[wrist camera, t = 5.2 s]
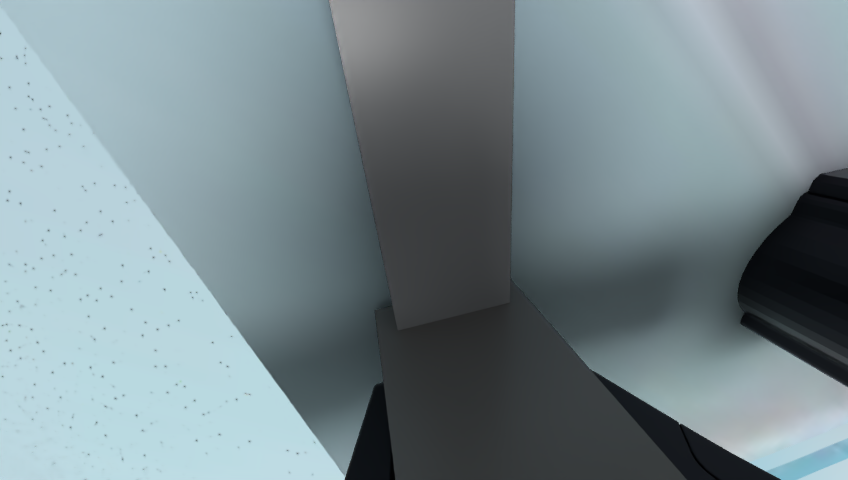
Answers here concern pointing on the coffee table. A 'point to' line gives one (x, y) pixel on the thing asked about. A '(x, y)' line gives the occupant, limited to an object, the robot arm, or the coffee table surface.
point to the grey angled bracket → (466, 260)
